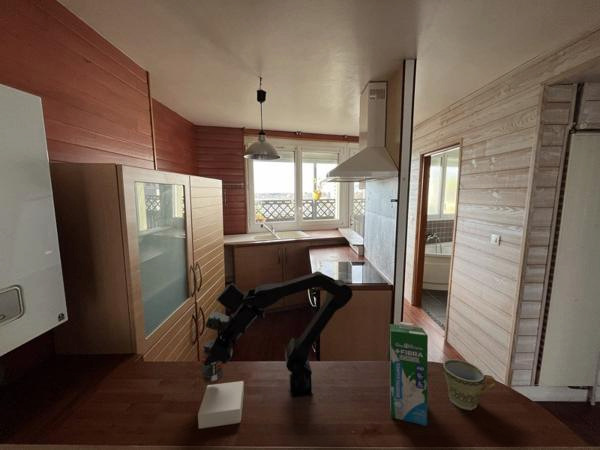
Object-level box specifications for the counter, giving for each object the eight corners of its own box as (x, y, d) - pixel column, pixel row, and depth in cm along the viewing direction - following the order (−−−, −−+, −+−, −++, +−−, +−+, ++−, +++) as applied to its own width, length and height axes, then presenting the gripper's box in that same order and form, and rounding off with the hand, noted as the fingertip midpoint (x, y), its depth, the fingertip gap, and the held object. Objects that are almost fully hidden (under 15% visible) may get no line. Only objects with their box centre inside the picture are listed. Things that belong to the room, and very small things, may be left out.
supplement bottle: (220, 384, 72) (217, 348, 71) (200, 386, 72) (197, 349, 71) (225, 371, 78) (223, 337, 77) (206, 372, 77) (204, 338, 77)
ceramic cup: (446, 410, 69) (447, 376, 68) (440, 386, 78) (440, 356, 78) (502, 422, 64) (503, 387, 64) (488, 395, 74) (488, 364, 73)
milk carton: (422, 400, 72) (422, 320, 71) (427, 426, 64) (427, 335, 62) (390, 393, 75) (389, 316, 74) (390, 417, 67) (390, 330, 65)
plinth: (243, 392, 77) (243, 380, 77) (240, 422, 66) (239, 408, 66) (208, 397, 76) (207, 385, 75) (198, 428, 65) (197, 414, 65)
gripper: (226, 293, 83) (195, 327, 82) (214, 316, 64) (174, 361, 64) (251, 313, 84) (221, 347, 84) (246, 341, 66) (207, 385, 65)
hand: (207, 358), depth 74 cm, fingers closed on supplement bottle, 6 cm apart
